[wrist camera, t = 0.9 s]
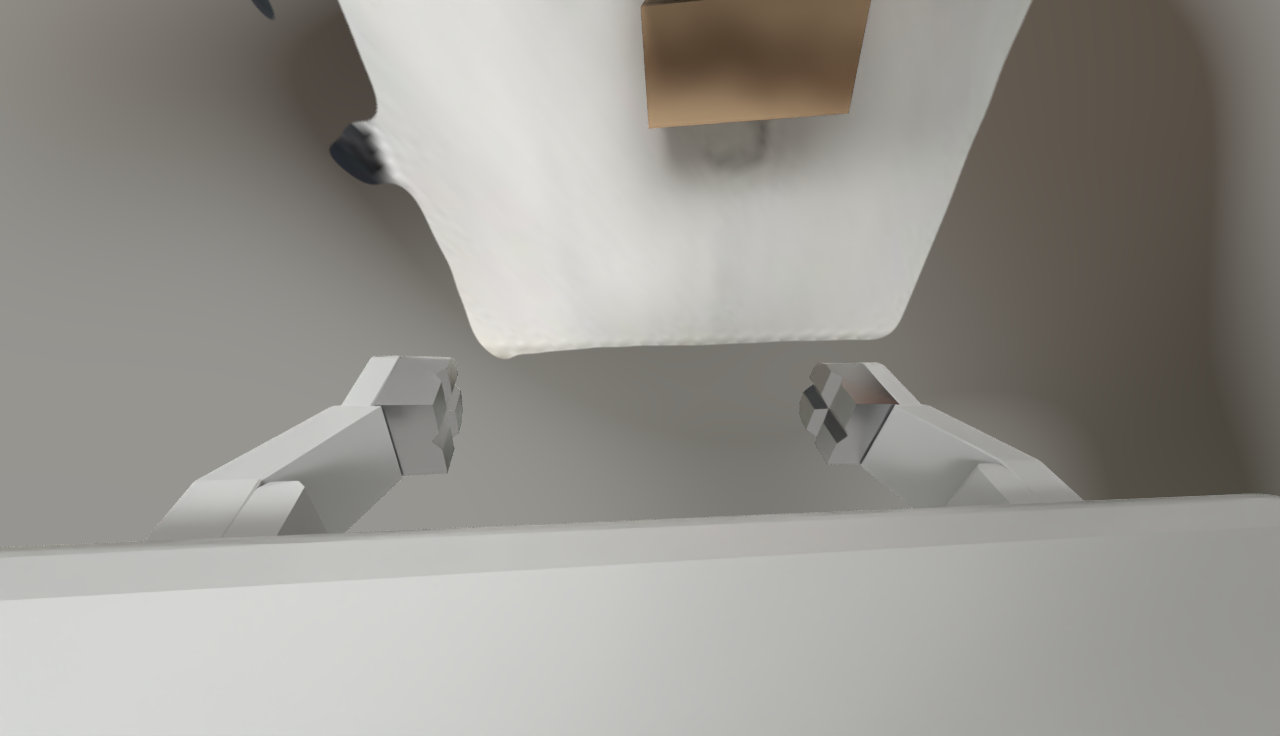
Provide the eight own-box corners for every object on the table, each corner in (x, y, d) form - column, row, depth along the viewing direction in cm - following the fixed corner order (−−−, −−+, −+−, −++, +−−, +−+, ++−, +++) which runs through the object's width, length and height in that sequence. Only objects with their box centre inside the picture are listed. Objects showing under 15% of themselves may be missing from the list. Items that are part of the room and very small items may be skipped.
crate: (651, -8, 39) (640, 6, 28) (817, -26, 38) (874, -18, 27) (656, 85, 44) (648, 128, 33) (804, 72, 43) (848, 113, 32)
